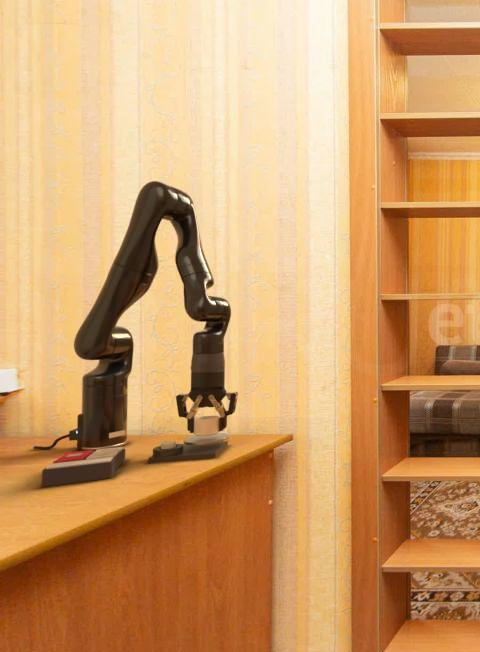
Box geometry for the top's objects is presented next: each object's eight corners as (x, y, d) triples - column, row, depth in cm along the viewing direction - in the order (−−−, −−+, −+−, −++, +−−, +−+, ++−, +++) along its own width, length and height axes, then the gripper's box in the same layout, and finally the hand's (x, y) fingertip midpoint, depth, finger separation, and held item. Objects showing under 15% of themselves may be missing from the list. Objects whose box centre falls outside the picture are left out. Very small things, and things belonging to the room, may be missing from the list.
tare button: (158, 450, 109) (158, 444, 109) (163, 447, 112) (163, 441, 112) (173, 449, 110) (173, 443, 110) (177, 446, 113) (177, 440, 113)
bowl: (190, 437, 114) (190, 420, 114) (197, 432, 120) (198, 416, 120) (217, 436, 116) (217, 419, 116) (223, 430, 122) (223, 414, 122)
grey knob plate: (148, 463, 107) (148, 451, 107) (167, 449, 118) (167, 438, 118) (215, 458, 112) (215, 446, 112) (227, 445, 123) (227, 435, 123)
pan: (177, 446, 112) (177, 444, 112) (191, 436, 121) (191, 434, 121) (223, 443, 115) (223, 441, 115) (232, 434, 124) (233, 432, 124)
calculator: (125, 445, 109) (112, 458, 97) (125, 462, 109) (111, 478, 96) (64, 451, 103) (41, 466, 91) (64, 469, 103) (40, 487, 90)
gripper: (242, 367, 124) (241, 426, 124) (181, 368, 119) (180, 430, 119) (235, 370, 117) (234, 432, 117) (170, 371, 112) (169, 436, 112)
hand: (207, 431), depth 118 cm, fingers closed on bowl, 6 cm apart
